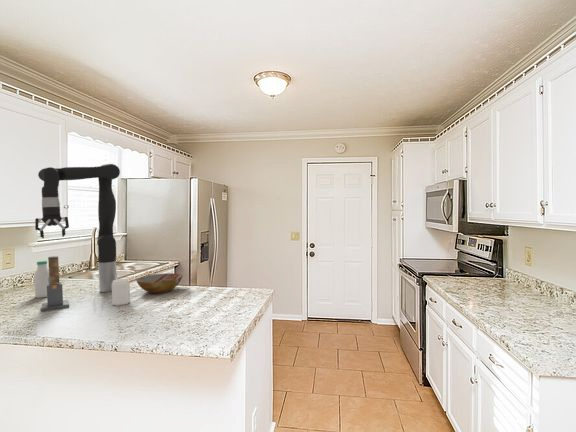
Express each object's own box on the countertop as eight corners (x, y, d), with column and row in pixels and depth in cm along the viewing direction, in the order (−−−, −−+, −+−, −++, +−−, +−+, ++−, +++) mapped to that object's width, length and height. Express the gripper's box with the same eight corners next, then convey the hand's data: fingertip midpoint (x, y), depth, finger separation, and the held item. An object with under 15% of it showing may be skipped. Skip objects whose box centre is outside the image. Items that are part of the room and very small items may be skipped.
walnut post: (59, 289, 168) (58, 255, 167) (59, 290, 164) (58, 256, 164) (49, 290, 165) (48, 256, 165) (49, 292, 162) (48, 257, 162)
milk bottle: (45, 298, 183) (43, 262, 183) (31, 298, 184) (29, 262, 183) (55, 294, 191) (53, 259, 191) (42, 294, 191) (40, 260, 191)
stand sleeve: (68, 302, 173) (67, 280, 172) (69, 307, 164) (68, 284, 163) (42, 306, 166) (41, 283, 166) (41, 311, 157) (40, 287, 157)
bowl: (167, 297, 177) (167, 282, 176) (126, 296, 182) (125, 282, 182) (190, 286, 201) (190, 273, 201) (153, 285, 206) (153, 273, 206)
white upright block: (108, 305, 166) (107, 281, 165) (123, 300, 173) (122, 278, 173) (119, 306, 162) (118, 282, 162) (133, 302, 169) (132, 279, 169)
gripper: (67, 206, 179) (69, 235, 180) (33, 207, 171) (36, 238, 171) (67, 205, 173) (69, 236, 174) (33, 206, 165) (35, 239, 165)
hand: (53, 237), depth 173 cm, fingers open, 8 cm apart
